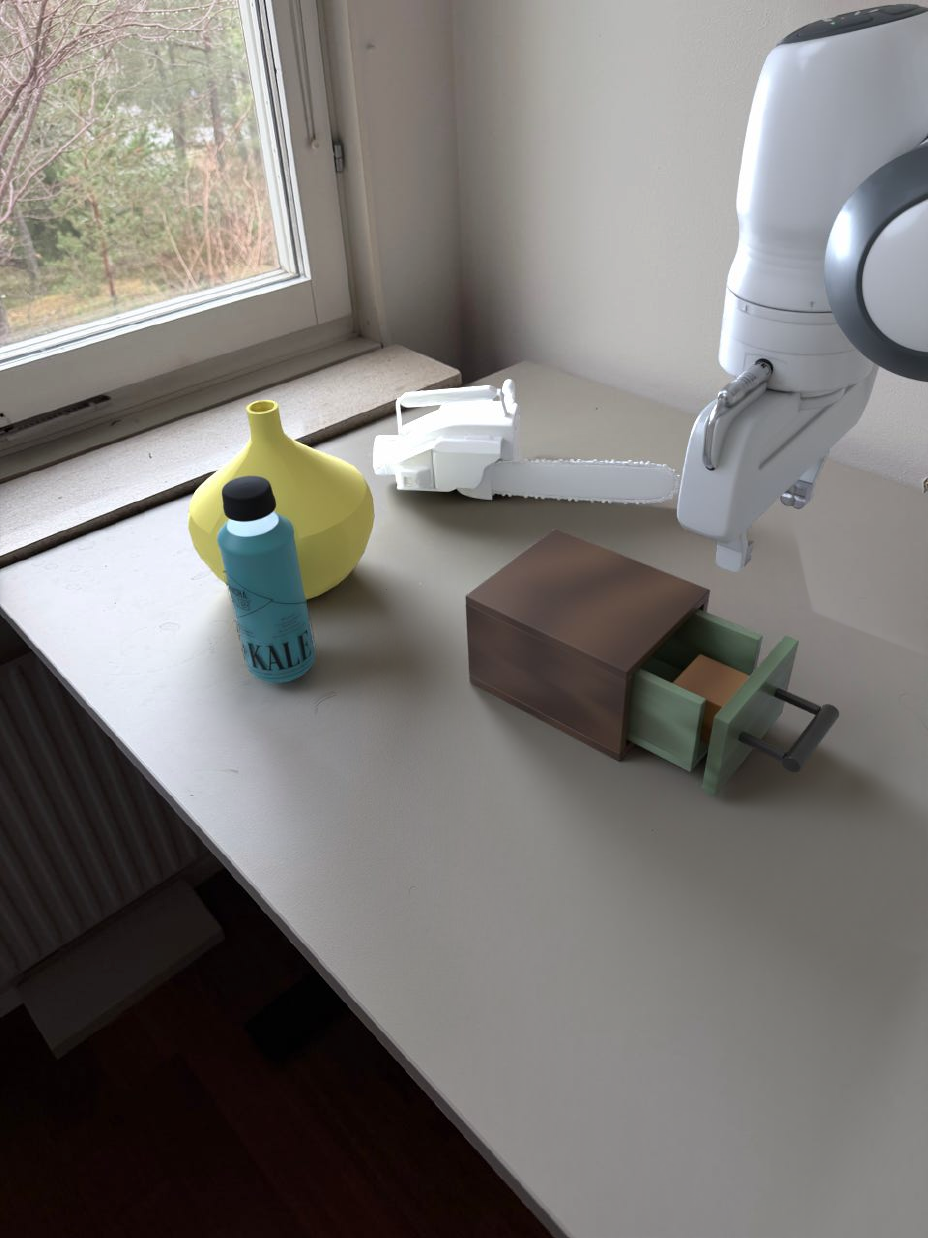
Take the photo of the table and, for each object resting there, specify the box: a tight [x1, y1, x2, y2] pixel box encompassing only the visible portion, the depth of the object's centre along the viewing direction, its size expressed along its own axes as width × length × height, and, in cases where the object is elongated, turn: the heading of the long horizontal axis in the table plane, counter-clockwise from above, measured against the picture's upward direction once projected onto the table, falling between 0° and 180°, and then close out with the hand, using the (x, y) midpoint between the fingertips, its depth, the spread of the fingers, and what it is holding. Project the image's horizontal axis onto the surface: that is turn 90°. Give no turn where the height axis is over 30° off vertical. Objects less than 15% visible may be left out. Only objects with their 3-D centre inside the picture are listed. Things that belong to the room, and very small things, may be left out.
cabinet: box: [464, 527, 711, 762], centre depth 81 cm, size 16×13×10 cm
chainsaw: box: [372, 379, 681, 505], centre depth 108 cm, size 15×35×12 cm, turn 82°
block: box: [673, 654, 749, 744], centre depth 75 cm, size 4×4×4 cm
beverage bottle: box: [217, 476, 318, 684], centre depth 80 cm, size 6×7×20 cm
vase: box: [187, 399, 376, 601], centre depth 92 cm, size 18×18×19 cm
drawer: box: [626, 609, 840, 798], centre depth 75 cm, size 20×12×8 cm, turn 50°
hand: (765, 532), depth 64 cm, fingers open, 8 cm apart
